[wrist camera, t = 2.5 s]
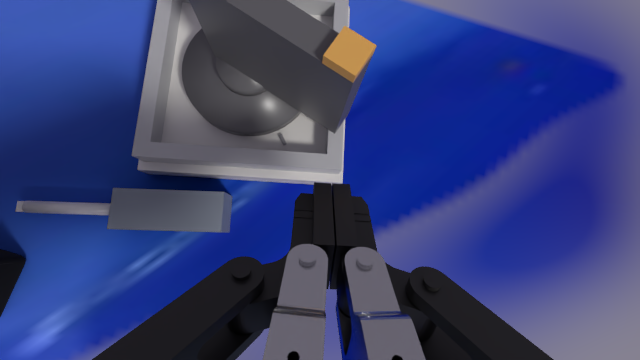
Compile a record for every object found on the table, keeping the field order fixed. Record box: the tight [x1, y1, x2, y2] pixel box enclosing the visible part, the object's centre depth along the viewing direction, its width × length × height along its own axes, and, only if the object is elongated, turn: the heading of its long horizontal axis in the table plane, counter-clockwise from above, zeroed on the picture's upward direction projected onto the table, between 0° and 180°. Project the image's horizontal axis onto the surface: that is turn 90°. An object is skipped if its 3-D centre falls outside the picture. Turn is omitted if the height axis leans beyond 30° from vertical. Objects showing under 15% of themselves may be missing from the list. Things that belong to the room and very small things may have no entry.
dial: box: [182, 0, 377, 136], centre depth 18 cm, size 12×9×9 cm
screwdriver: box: [15, 188, 232, 232], centre depth 21 cm, size 14×3×3 cm, turn 88°
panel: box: [132, 0, 350, 186], centre depth 23 cm, size 14×14×3 cm
